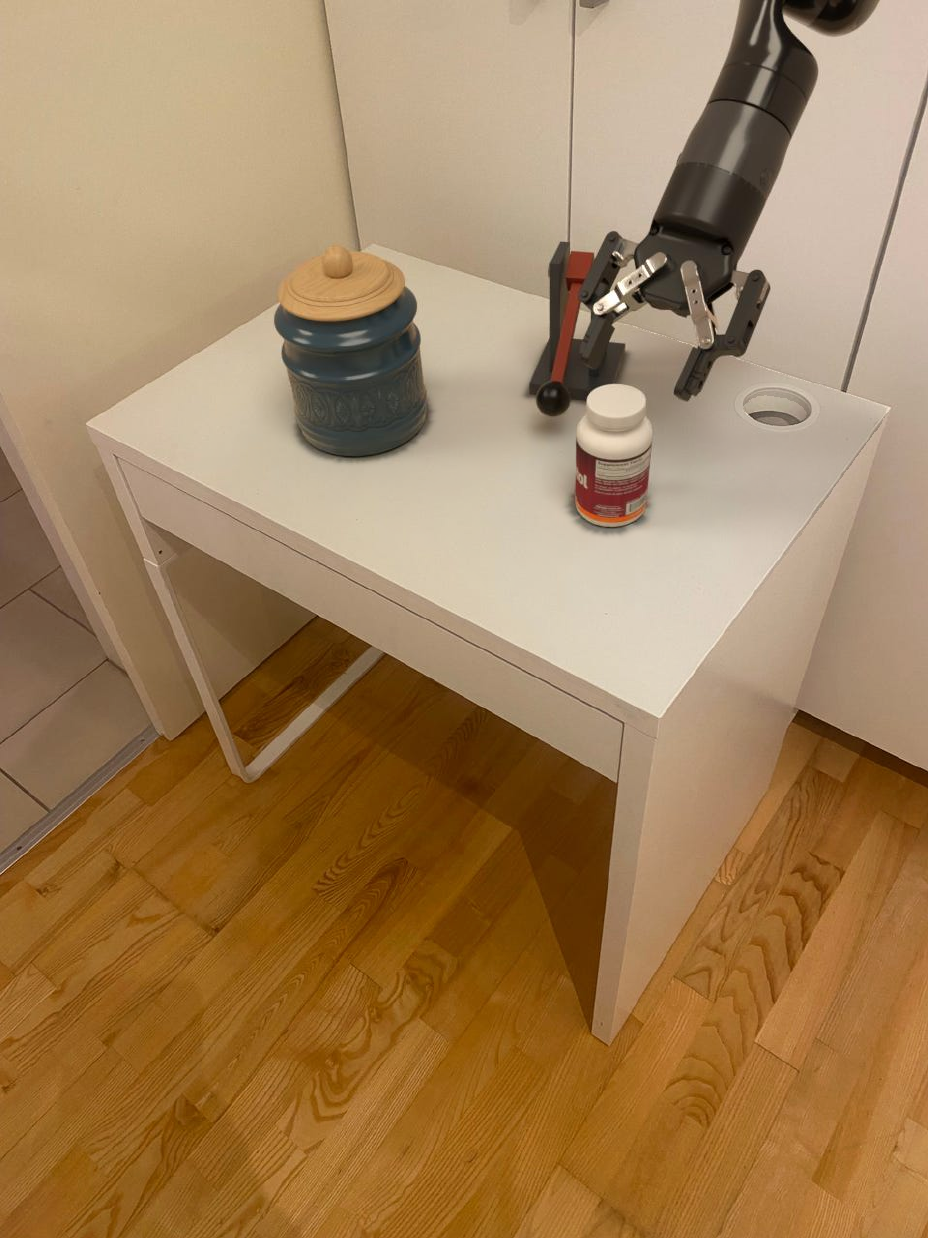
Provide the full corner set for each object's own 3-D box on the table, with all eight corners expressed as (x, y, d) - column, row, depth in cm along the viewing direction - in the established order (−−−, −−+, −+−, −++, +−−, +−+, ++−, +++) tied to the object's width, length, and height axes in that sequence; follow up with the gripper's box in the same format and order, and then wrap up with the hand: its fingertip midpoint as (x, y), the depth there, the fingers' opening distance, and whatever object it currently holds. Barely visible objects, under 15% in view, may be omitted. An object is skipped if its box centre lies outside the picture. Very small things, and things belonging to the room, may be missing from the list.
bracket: (608, 403, 94) (615, 280, 85) (529, 394, 96) (527, 273, 87) (624, 354, 100) (632, 234, 90) (550, 346, 102) (550, 228, 92)
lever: (568, 424, 88) (565, 409, 85) (535, 420, 89) (530, 405, 86) (601, 269, 91) (599, 249, 88) (568, 267, 92) (565, 247, 89)
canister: (383, 368, 101) (359, 201, 88) (455, 422, 93) (440, 248, 80) (275, 416, 96) (233, 246, 83) (341, 477, 88) (306, 301, 76)
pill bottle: (575, 483, 86) (578, 376, 78) (645, 484, 85) (655, 377, 77) (573, 529, 82) (575, 421, 74) (646, 531, 81) (657, 422, 73)
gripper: (816, 224, 74) (725, 421, 76) (655, 185, 80) (576, 368, 83) (799, 179, 67) (699, 397, 70) (625, 141, 74) (540, 341, 76)
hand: (632, 381), depth 76 cm, fingers open, 8 cm apart
